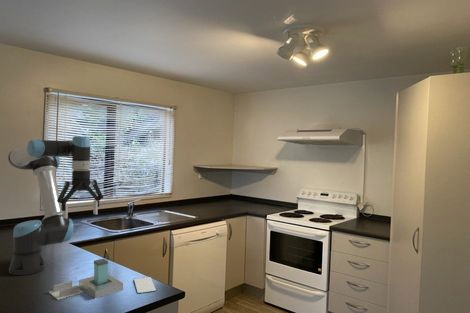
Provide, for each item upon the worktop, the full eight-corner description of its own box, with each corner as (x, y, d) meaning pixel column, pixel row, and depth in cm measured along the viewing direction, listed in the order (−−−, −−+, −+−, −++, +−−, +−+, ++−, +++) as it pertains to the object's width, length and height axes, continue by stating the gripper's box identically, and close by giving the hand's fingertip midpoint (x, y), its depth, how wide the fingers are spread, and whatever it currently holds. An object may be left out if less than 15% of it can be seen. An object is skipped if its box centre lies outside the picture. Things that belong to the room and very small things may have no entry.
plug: (93, 288, 147) (93, 260, 147) (103, 285, 150) (103, 258, 150) (98, 291, 144) (98, 263, 144) (107, 288, 147) (107, 260, 147)
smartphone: (156, 292, 145) (151, 278, 160) (156, 290, 145) (151, 276, 160) (137, 295, 142) (133, 280, 157) (137, 293, 142) (133, 278, 157)
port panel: (78, 287, 148) (78, 279, 148) (105, 279, 157) (105, 272, 157) (95, 298, 137) (95, 290, 137) (123, 289, 146) (123, 282, 146)
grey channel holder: (48, 292, 142) (48, 285, 142) (73, 285, 149) (73, 279, 149) (57, 300, 135) (57, 293, 135) (83, 292, 142) (83, 285, 142)
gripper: (55, 171, 146) (55, 221, 146) (110, 169, 164) (110, 213, 164) (49, 170, 151) (48, 218, 151) (103, 168, 169) (103, 211, 170)
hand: (80, 216), depth 158 cm, fingers open, 13 cm apart
